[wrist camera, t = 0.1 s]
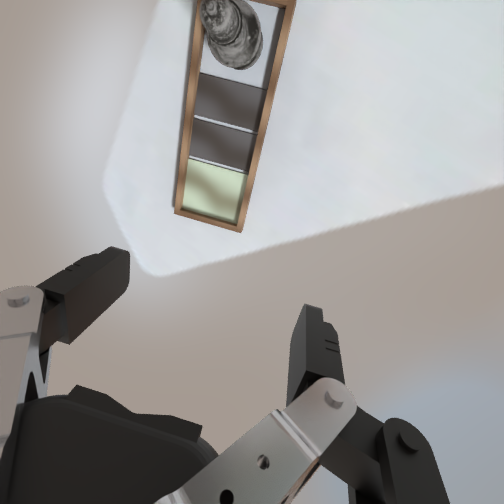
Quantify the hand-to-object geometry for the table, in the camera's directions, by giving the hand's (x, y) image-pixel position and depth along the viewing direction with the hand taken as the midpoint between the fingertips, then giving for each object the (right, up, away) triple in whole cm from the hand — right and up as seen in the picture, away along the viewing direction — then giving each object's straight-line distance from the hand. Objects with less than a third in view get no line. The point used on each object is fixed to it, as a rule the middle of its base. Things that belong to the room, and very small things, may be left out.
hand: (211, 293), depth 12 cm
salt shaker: (0, +26, +21) cm, 33 cm away
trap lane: (-2, +19, +24) cm, 31 cm away
